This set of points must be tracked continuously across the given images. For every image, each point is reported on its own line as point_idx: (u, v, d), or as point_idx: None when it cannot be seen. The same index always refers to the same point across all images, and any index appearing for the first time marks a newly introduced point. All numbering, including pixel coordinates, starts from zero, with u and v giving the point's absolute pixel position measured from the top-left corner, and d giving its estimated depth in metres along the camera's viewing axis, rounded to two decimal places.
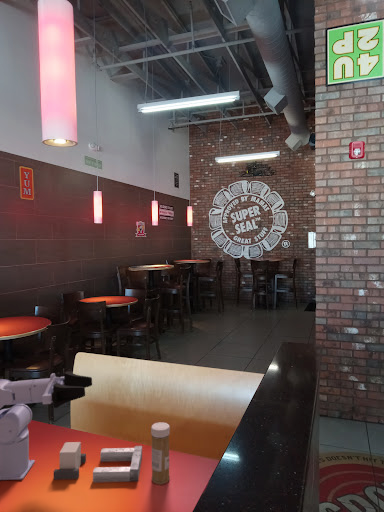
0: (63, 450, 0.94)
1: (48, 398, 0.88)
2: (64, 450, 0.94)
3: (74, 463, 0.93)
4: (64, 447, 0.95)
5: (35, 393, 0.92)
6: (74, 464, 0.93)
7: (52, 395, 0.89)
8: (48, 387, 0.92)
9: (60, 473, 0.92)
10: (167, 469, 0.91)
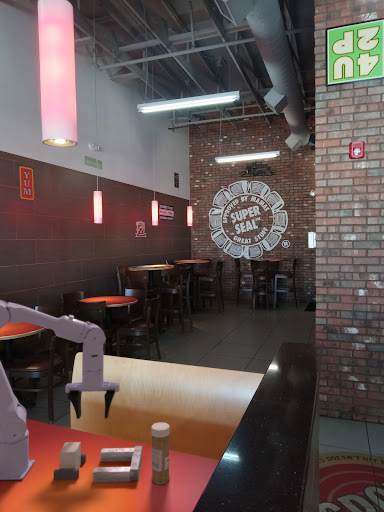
0: (63, 450, 0.94)
1: (119, 388, 1.04)
2: (64, 450, 0.94)
3: (74, 463, 0.93)
4: (64, 447, 0.95)
5: None
6: (74, 464, 0.93)
7: None
8: None
9: (60, 473, 0.92)
10: (167, 469, 0.91)
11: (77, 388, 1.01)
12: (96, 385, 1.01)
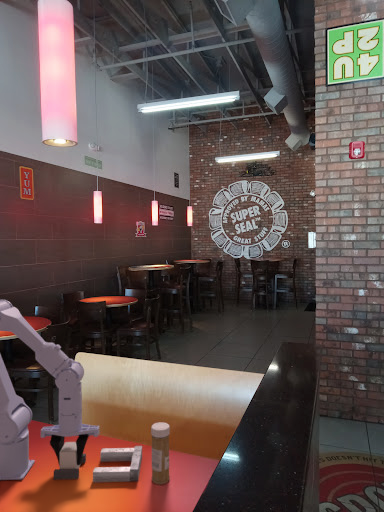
0: (63, 450, 0.94)
1: (98, 432, 0.96)
2: (64, 450, 0.94)
3: (74, 463, 0.93)
4: (64, 447, 0.95)
5: (81, 414, 0.96)
6: (74, 464, 0.93)
7: None
8: None
9: (60, 473, 0.92)
10: (167, 469, 0.91)
11: (53, 433, 0.94)
12: (73, 430, 0.93)
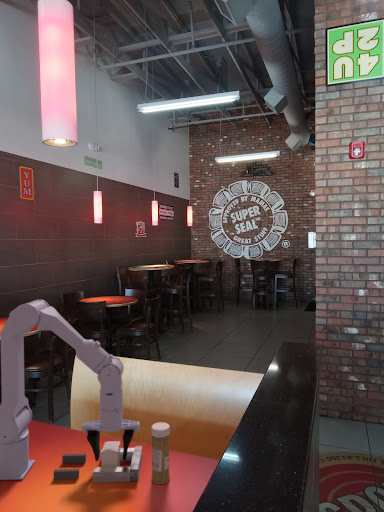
0: (105, 449, 0.95)
1: (139, 427, 0.97)
2: (106, 450, 0.94)
3: (116, 462, 0.94)
4: (105, 446, 0.96)
5: None
6: (116, 463, 0.94)
7: None
8: None
9: (60, 473, 0.92)
10: (167, 469, 0.91)
11: (95, 428, 0.94)
12: (115, 425, 0.94)
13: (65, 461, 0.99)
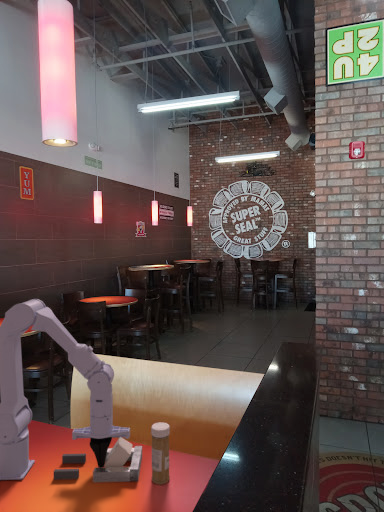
0: (120, 445, 0.95)
1: (129, 434, 0.97)
2: (121, 447, 0.94)
3: (123, 463, 0.94)
4: (120, 442, 0.96)
5: (112, 416, 0.96)
6: (122, 464, 0.94)
7: None
8: None
9: (60, 473, 0.92)
10: (167, 469, 0.91)
11: (85, 435, 0.94)
12: (105, 432, 0.94)
13: (65, 461, 0.99)
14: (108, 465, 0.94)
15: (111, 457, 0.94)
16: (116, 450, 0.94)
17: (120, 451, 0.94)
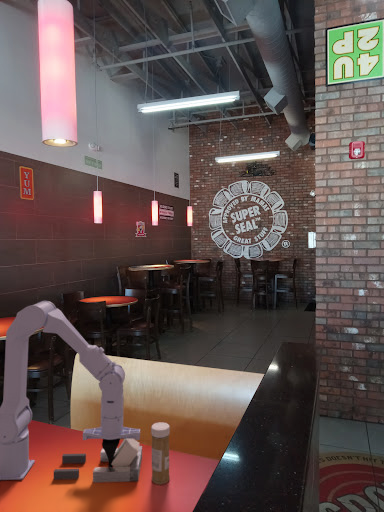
0: (127, 444, 0.95)
1: None
2: (128, 445, 0.95)
3: (130, 461, 0.94)
4: (127, 440, 0.96)
5: None
6: (129, 462, 0.94)
7: None
8: None
9: (60, 473, 0.92)
10: (167, 469, 0.91)
11: (95, 436, 0.94)
12: (116, 433, 0.94)
13: (65, 461, 0.99)
14: (115, 463, 0.94)
15: (118, 455, 0.94)
16: (123, 448, 0.94)
17: (127, 449, 0.94)
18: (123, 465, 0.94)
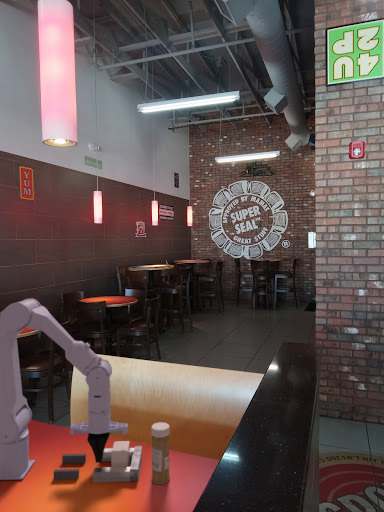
0: (114, 449, 0.95)
1: (127, 430, 0.97)
2: (116, 449, 0.94)
3: (126, 462, 0.94)
4: (115, 446, 0.96)
5: (110, 412, 0.97)
6: (126, 463, 0.94)
7: None
8: None
9: (60, 473, 0.92)
10: (167, 469, 0.91)
11: (83, 430, 0.95)
12: (103, 427, 0.94)
13: (65, 461, 0.99)
14: None
15: (112, 463, 0.94)
16: (112, 455, 0.94)
17: (116, 453, 0.94)
18: None
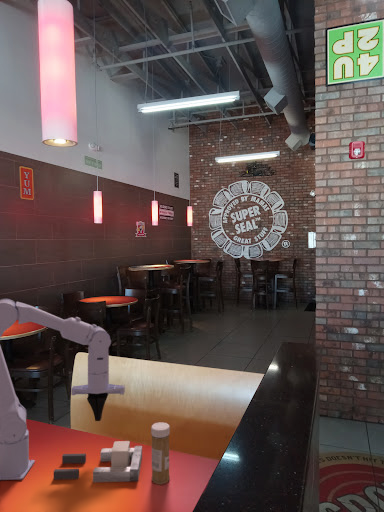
0: (114, 449, 0.95)
1: (124, 391, 1.04)
2: (116, 449, 0.94)
3: (126, 462, 0.94)
4: (114, 446, 0.96)
5: (108, 374, 1.04)
6: (126, 463, 0.94)
7: None
8: None
9: (60, 473, 0.92)
10: (167, 469, 0.91)
11: (83, 391, 1.02)
12: (101, 388, 1.01)
13: (65, 461, 0.99)
14: None
15: (112, 463, 0.94)
16: (112, 455, 0.94)
17: (116, 454, 0.94)
18: None
